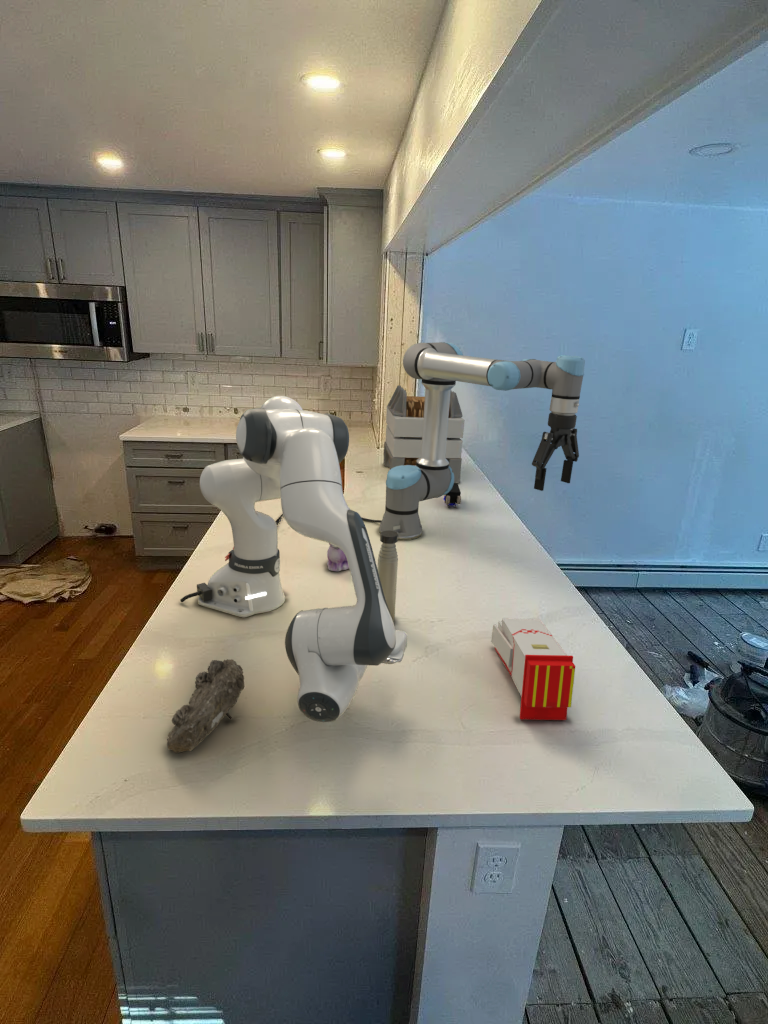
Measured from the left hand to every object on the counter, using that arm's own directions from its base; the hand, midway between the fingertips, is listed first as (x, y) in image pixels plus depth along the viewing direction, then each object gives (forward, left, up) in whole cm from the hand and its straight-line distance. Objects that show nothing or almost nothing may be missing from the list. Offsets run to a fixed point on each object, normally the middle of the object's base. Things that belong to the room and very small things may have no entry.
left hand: (364, 619), depth 119 cm
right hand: (+39, +65, +15) cm, 77 cm away
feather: (-54, +84, -13) cm, 100 cm away
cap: (0, +23, +11) cm, 25 cm away
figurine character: (+6, +120, -13) cm, 121 cm away
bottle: (0, +23, -13) cm, 26 cm away
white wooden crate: (-15, +162, -13) cm, 163 cm away
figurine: (-21, +50, -13) cm, 55 cm away
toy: (+34, +8, -13) cm, 38 cm away
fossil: (-24, -22, -13) cm, 35 cm away
